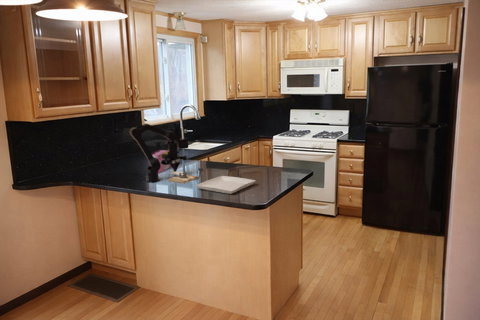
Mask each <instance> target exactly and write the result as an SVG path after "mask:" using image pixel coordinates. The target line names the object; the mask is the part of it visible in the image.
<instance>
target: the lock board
mask: <svg viewBox="0 0 480 320" xmlns="http://www.w3.org/2000/svg"><path fill="white" fill-rule="evenodd" d="M198 179H199V176H197V175H191V174H187V178H179V175H176V176H173V177H170V178H168V179H167V181H168V182H170V183H171V182H172V183H177V184H186V183H189V182H190V183H191V182H192V181H194V180H198Z"/></svg>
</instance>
